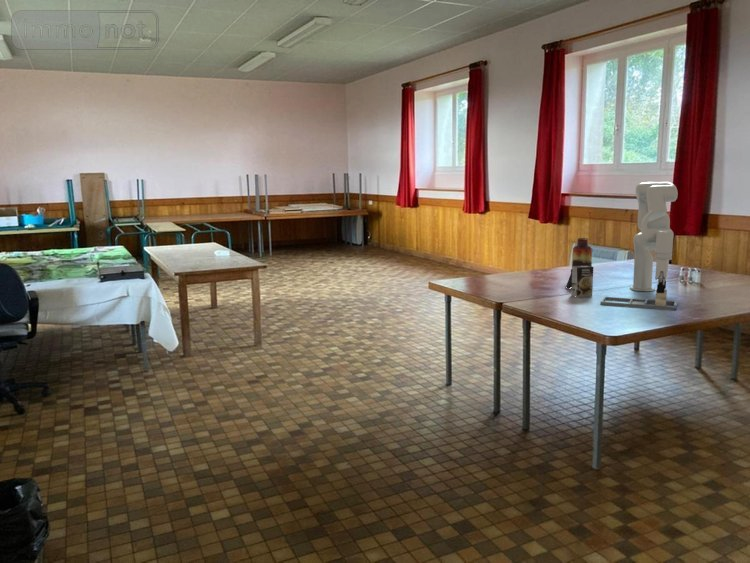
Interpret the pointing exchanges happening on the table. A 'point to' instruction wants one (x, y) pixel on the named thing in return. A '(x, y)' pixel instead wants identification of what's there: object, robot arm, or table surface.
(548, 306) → the table surface
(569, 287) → the phone stand
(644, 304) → the grey flat frame
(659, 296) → the tan wooden block
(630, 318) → the table surface
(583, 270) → the coffee box
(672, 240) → the robot arm
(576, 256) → the vase
